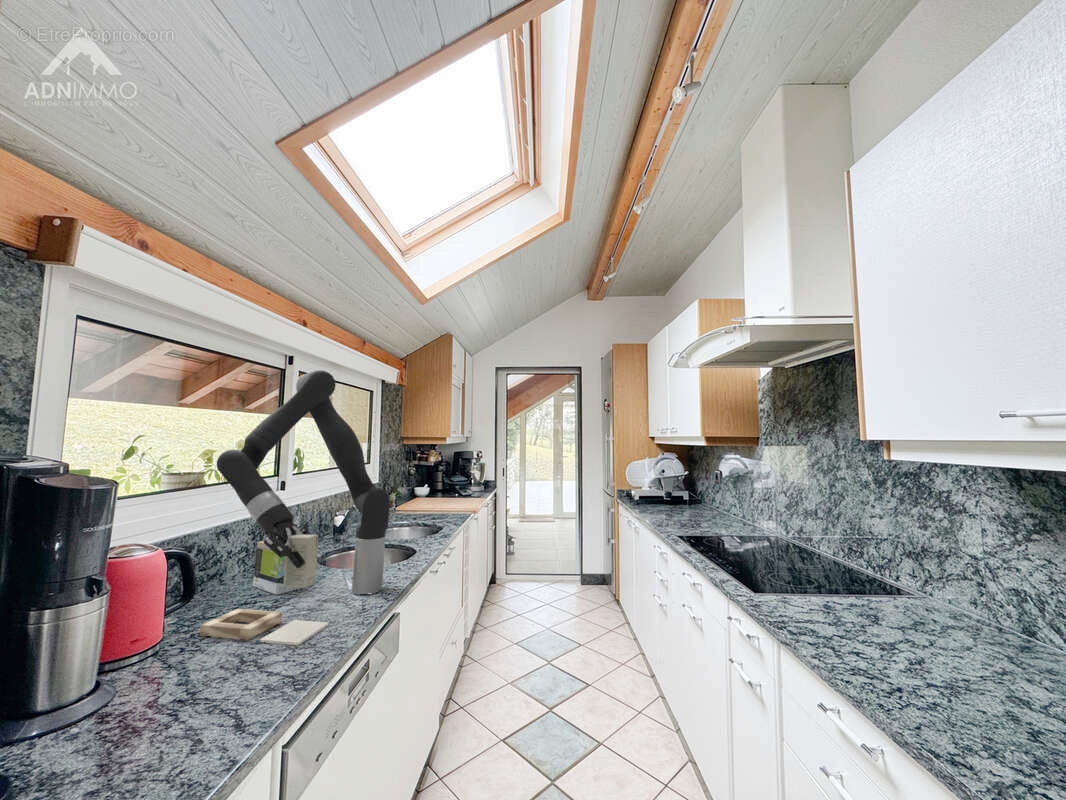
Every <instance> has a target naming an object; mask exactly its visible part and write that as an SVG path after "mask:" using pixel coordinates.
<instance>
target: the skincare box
mask: <svg viewBox="0 0 1066 800" xmlns="http://www.w3.org/2000/svg"><path fill="white" fill-rule="evenodd" d="M290 539H291V540H292V541H293V543H292V544H293V546H294V547H295V549H296V551H297V552H298V553H299V554H300V556H301V557H302V558H303V560H304V561H305V564H304V565H303V566H301V567H300V568H296V566H294V564H293V563H292V562H291V560H290V559H289V558H286V557H285V571H284V585H283V586H284V587H305V588H307V587H310V586H311V585H314V584H315V583H316V578H317V564H318V546H319V542H318V541H319V534H310V535H304V534H301V535H293V536H292V537H290ZM287 541H288V540H287ZM286 543H287V542H286ZM288 548H289V547H288ZM289 549H290V548H289ZM296 551H295V552H296Z"/></svg>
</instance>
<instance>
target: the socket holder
mask: <svg viewBox="0 0 1066 800" xmlns="http://www.w3.org/2000/svg"><path fill="white" fill-rule="evenodd" d="M282 618H283V612H282V611H273V610H259V609H249V608H248V609H247V608H237V609H234V610H232V611H230V612H227V613H225V614H223V615H220V616H218V617H216V618H214V619H211V620H209V621H207V622H205V623H203V624H201V625H200V630H199V636H200V637H206V636H211V637H210V638H218V637H222V638H221V639H229V638H234V639H233V640H240V639H245V640H244V641H250V640H252V639H253V638H255V637H256V635H257V636H259V635H260V634H262V633H264V632H266V631H268V630H269V629H272V628H274V627H275V626H277V625H278V624H280V623H282V620H283V619H282ZM236 622H247V623H236ZM235 623H236V624H235ZM267 629H268V630H267ZM258 634H259V635H258ZM254 636H255V637H254ZM252 637H253V638H252ZM249 639H250V640H249Z"/></svg>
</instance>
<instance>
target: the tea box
mask: <svg viewBox="0 0 1066 800" xmlns="http://www.w3.org/2000/svg"><path fill="white" fill-rule="evenodd" d="M263 541H264V540H260V541H257V543H256V549H255V550H256V551H255V560H254V561H255V562H254V573H253V581H252V587H254V588H256V587H257V589H260V590H263V591H266V592H267V593H271V594H274V595H276V596H277V595H281V594H285V592H286V593H289V591H290V592H292V591H293V590H294V591H297V590H301V589H304V588H306V587H284V586H283V585H284V571H285V556H283V557H279V556H278V555H277V554H275V553H274V552H273V551H272V550H271V549H270V548H269V547H268V546H267V545H265V544H264V542H263ZM278 549H279V550H280V548H279V547H278ZM280 551H281V550H280ZM300 588H301V589H300ZM296 589H297V590H296ZM294 591H293V592H294Z"/></svg>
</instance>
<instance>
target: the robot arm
mask: <svg viewBox="0 0 1066 800" xmlns="http://www.w3.org/2000/svg"><path fill="white" fill-rule="evenodd" d="M336 385H337V383H336V380H335V378H334V376H333V375H332V374H331V373H330V372H328V371H325V370H313V371H310V372H307V373H305V374H302V375H300V376H299V377H298V379H297V381H296V383H295V388H296V389H295V390H296V392H295V394H294V395H293V396H292V397H291V398H290V399H289V400H287V401H286V402H285V403H284V404H283V405H281V406H280V407H279V408H277V409H276V410H274V411H273V412H272V413H271V414H270V415H268V416H267V417H265V418H264V419H263V420H262V421H261V422H259V424H258V425H257V426H255V428H254V429H253V430H251V432H250V433H249V434H247V436H246V437H245V439H244V444H243V445H244V446H243V447H242V449H240V450H239V449H228V450H225V451H224V452H222V453H221V454H220V455H219V456H218V458H217V460H216V468H217V470H218V471H219V473H220V474H221V476H223V478H224V479H225V480H226V481H227V482H228V483H229V485H230V486H231V487H232V488H233V489H234V491H235V493H236V495H237V497H238V498H239V500H240V501H241V502H242V504H243V505H244V507H245V508H246V509H247V511H248V514H249V515H250V517H251V519H253V521H254V522H255V523H256V524H257V527H259V529H260V530H261V532H262V533H263V534H264V535H265V536H267V537H266V538H265V539H264V540H262V541H263V542H264V544H265V545H267V546H268V547H269V548H270V549H271V550H272V551H273V552H274V553H275V554H277V555H278V556H279V557H283V556H285V557H286V558H289V559H290V560H291V562H292V563H293V564H294V566H296V568H300V567H301V566H303V565H304V564H305V561H304V560H303V558H302V557H301V556H300V554H299V553H298V552H297V551H296V549H295V547H294V546H293V544H292V543H293V541H292V540H291V539H290V537H292V536H293V535H301V534H304V535H311V533H310V531H309V528H308V527H307V526H306V525H303V526H302V527H299V526H297V525H296V524H295V523H294V522H293V521H294V519H295V518H294V517H295V516H294V515H293V513H292V511H290V509H289V508H288V506H287V505H286V504H285V502H284V501H283V500H282V499H281V498H280V496H279V495H278V494H277V493H276V492H274V490H273V489H272V487H271V486H270V485H269V484H268V482H267V481H266V480H265V479H264V478H263V477H262V476H261V475H260V473H259V472H258V468H259V467H260V465H261V464H262V463H263V461H264V460H265V458H266V457H267V455H268V454H269V452H270V451H271V450H272V449H273V448H274V447H275V446H277V444H278V443H279V442H280V441H281V440H282V439H283V438H284V437H285V436H286V435H287V434H288V433H289V432H290V431H291V430H292V428H293V427H294V426H295V425H296V424H298V423H299V422H300V420H302V419H303V418H304V417H305V416H306V415H307V414H308V413H309V414H310V416H311V417H312V419H313V420H314V422H315V424H316V427H317V429H318V431H319V433H320V436H321V437H322V439H323V441H324V443H325V446H326V447H327V450H328V452H329V454H330V456H331V458H332V459H333V462H334V463H335V465H336V467H337V468H338V470H339V472H340V474H341V475H342V477H343V479H344V481H345V482H346V485H347V488H348V490H349V492H350V495H351V498H352V501H353V504H354V506H355V508H356V510H357V511H358V512H360V514H361V517H360V518H361V519H360V525H359V526H358V527H357V528H356V530H355V542H354V543H355V544H354V546H355V547H354V556H353V571H352V573H353V574H352V586H351V593H352V592H353V593H355V594H354V595H356V594H368V593H374V592H377V591H380V590H381V589H382V590H383V586H382V585H383V584H384V583H383V582H384V568H385V567H384V566H385V548H386V547H385V546H386V544H385V543H386V531H387V529H388V527H389V521H390V520H389V519H390V512H391V511H390V509H391V499H390V496H389V493H388V492H387V491H386V490H384V489H383V488H378V487H376V486H375V485H374V483H373V481H372V480H371V478H370V476H369V474H368V472H367V469H366V462H365V457H364V452H363V451H364V450H363V448H362V446H361V443H360V441H359V439H358V437H357V435H356V433H355V431H354V430H353V428H352V427H351V426H350V424H349V423H348V422H346V421H345V419H343V417H342V416H341V415H340V414H339V413H338V412H337V410H336V408H335V407H334V405H333V403H332V401H331V398H330V397H331V396H332V395H333V393H334V391H335V389H336ZM287 540H288V541H287ZM286 542H287V543H286ZM278 547H279V548H280V550H281V551H280V550H279V549H278ZM288 547H289V548H290V549H289V548H288ZM295 551H296V552H295ZM382 590H381V591H382ZM381 591H380V592H381ZM353 593H352V594H353Z"/></svg>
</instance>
